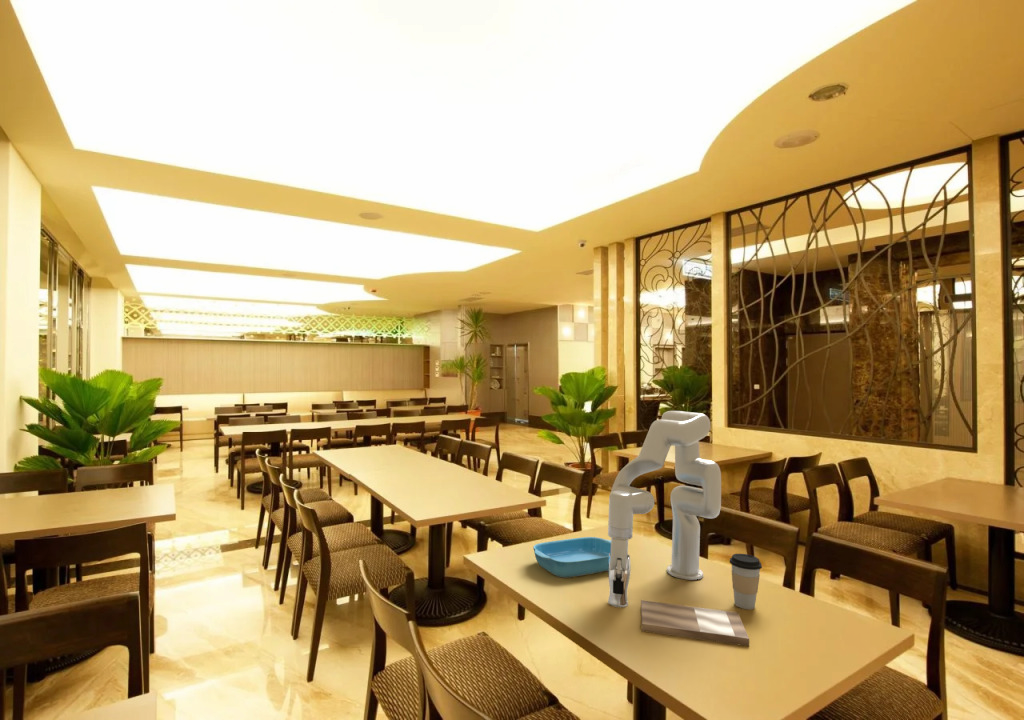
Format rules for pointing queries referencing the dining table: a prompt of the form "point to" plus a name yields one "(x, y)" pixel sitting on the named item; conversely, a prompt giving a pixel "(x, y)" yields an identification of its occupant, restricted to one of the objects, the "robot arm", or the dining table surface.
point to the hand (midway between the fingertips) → (618, 588)
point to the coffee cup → (745, 579)
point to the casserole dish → (574, 556)
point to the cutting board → (693, 622)
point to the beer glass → (621, 599)
